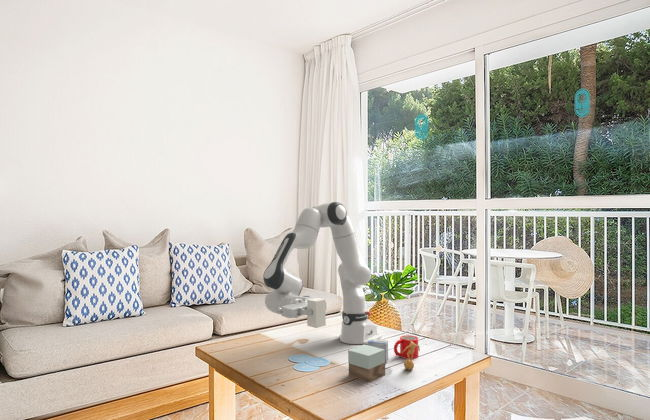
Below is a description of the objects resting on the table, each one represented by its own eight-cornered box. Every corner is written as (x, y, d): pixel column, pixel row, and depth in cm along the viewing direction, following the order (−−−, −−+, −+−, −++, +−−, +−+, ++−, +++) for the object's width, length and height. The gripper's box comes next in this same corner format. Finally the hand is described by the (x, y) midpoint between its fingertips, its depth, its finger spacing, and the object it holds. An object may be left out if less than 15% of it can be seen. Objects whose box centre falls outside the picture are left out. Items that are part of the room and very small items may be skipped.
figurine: (414, 366, 173) (414, 336, 173) (423, 371, 168) (423, 340, 168) (397, 369, 170) (397, 339, 170) (405, 374, 164) (405, 343, 165)
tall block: (316, 323, 168) (316, 297, 168) (325, 325, 164) (325, 299, 164) (307, 325, 164) (307, 299, 164) (316, 328, 160) (316, 301, 161)
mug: (389, 356, 186) (388, 338, 186) (410, 351, 192) (410, 334, 192) (400, 361, 179) (400, 342, 180) (422, 356, 185) (422, 338, 185)
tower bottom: (365, 369, 171) (365, 356, 171) (385, 375, 164) (385, 362, 164) (348, 376, 164) (348, 363, 164) (369, 383, 157) (368, 369, 157)
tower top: (364, 356, 171) (364, 344, 171) (384, 362, 164) (384, 349, 164) (348, 363, 164) (348, 350, 164) (368, 369, 157) (368, 355, 157)
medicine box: (388, 360, 181) (388, 339, 181) (386, 363, 177) (386, 342, 177) (370, 358, 183) (370, 338, 184) (367, 361, 179) (367, 341, 179)
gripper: (274, 302, 166) (297, 307, 156) (312, 295, 180) (335, 299, 171) (274, 318, 166) (297, 324, 156) (312, 310, 180) (335, 315, 171)
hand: (318, 311), depth 163 cm, fingers closed on tall block, 5 cm apart
